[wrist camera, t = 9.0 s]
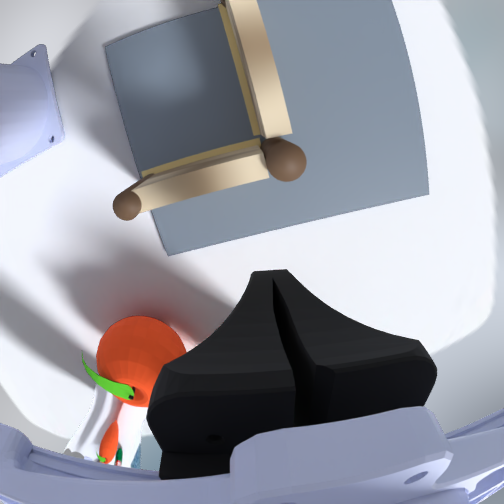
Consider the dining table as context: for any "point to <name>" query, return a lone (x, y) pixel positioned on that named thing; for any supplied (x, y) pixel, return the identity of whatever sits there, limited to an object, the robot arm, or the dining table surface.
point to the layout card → (298, 107)
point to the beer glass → (109, 432)
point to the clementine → (134, 357)
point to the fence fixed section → (212, 176)
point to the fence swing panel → (259, 67)
